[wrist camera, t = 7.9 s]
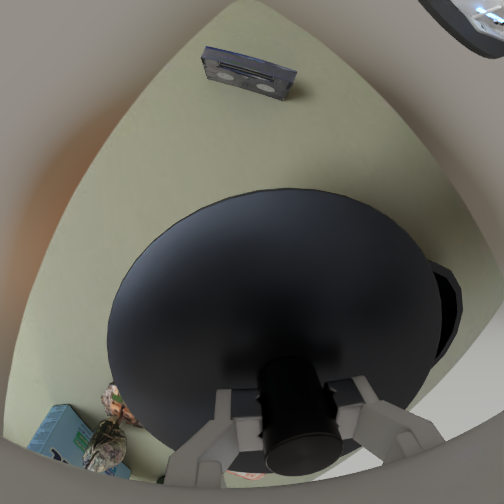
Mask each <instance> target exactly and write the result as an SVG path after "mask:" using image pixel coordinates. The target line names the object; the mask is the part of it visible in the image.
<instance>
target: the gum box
mask: <svg viewBox="0 0 504 504" xmlns="http://www.w3.org/2000/svg"><path fill="white" fill-rule="evenodd" d="M92 434H93V433H92V431H91V430H90V429H89V428H88V427H87V426H86V425H85V424H84V422H83V421H82V420H81V419H80V418H79V417H78V415H77V414H76V413H75V412H74V410H73V409H72V408H71V407H70V405H69V404H68V405H58V406H53V407H52V408H51V410H50V411H49V413H48V414H47V416H46V418H45V419H44V421H43V422H42V424H41V425H40V427H39V429H38V430H37V432H36V433H35V435H34V437H33V438H32V440H31V441H30V443H29V445H28V447H27V449H29V450H32V451H34V452H37V453H39V454H42V455H44V456H47V457H50V458H52V459H55V460H58V461H61V462H64V463H67V464H70V465H73V466H77V467H80V468H83V469H84V466H83V465H82V464H83V461H82V456H83V455H84V453H85V450H86V446H87V444H88V441H89V439H90V438H91V437H92ZM89 442H90V441H89ZM100 473H102V474H107V475H111V476H115V477H120V478H125V479H129V477H130V473H131V470H130V469H129V468H127V467H126V466H125V465H124V464H123V463H122V462H120V463H119V464H117V465H116V466H114V467H111V468H110V469H108V470H106V471H102V472H100Z"/></svg>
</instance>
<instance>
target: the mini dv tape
mask: <svg viewBox="0 0 504 504" xmlns="http://www.w3.org/2000/svg"><path fill="white" fill-rule="evenodd" d="M201 60H202V63H203V66H204V69H205V72H206V76H207V79H209V80H213V81H217V82H221V83H225V84H229V85H233V86H236V87H240V88H243V89H247V90H250V91H253V92H257V93H260V94H263V95H266V96H269V97H272V98H275V99H278V100H281V101H283V100H284V99H285V97H286V95H287V93H288V92H289V90H290V88H291V87H292V85H293V83H294V80H295V77H296V74H297V71H294V70H291V69H288V68H285V67H282V66H279V65H276V64H273V63H270V62H267V61H263V60H260V59H257V58H253V57H250V56H246V55H242V54H238V53H234V52H230V51H226V50H222V49H217V48H213V47H208V46H206V47H205V49H204V52H203V54H202V56H201Z"/></svg>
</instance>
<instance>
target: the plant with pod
mask: <svg viewBox="0 0 504 504" xmlns="http://www.w3.org/2000/svg"><path fill="white" fill-rule="evenodd" d="M102 395H103V396H104V397H103V396H101V399H102V403H103V404H104V405H105V406H104V407H105V408H104V409H105V412H106V413H107V414H108V415H109V416H111V417H109V418H107V419H105V420H103V421H101V422H100V423H99V425H97V427H96V428H95V429H94V431H93V434H92V437H91V438H90V439H89V441H90V442H89V441H88V444H87V446H86V450H85V453H84V455H83V456H82V461H83V464H82V465H83V466H84V469H87V470H91V471H94V472H98V473H100V472H102V471H106V470H108V469H110V468H111V467H114V466H116V465H117V464H119V463H120V462H121V461H122V460H123V458H124V456H125V454H126V450H127V449H126V446H127V443H126V441H127V438H126V436H125V433H124V431H123V430H122V429H121V428H119V426H120V424H121V422H122V420H123V421H125V422H126V423H129V424H132V425H133V426H136V427H139V428H140V427H141V428H142V427H143V426H142V425H141V424H140V423H139V422H138V420H137V419H136V418H135V417H134V415H133V414H132V413H131V412H130V410H129V409H128V407H127V406H126V404H125V402H124V401H123V399H122V397H121V396H120V394H119V391H118V389H117V387H116V384H115V382H113V383H109V386H108V389H106V391H105V393H104V394H102ZM108 415H107V416H108Z"/></svg>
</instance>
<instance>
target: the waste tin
mask: <svg viewBox="0 0 504 504" xmlns="http://www.w3.org/2000/svg"><path fill="white" fill-rule="evenodd" d="M426 259H427V258H426ZM427 261H428V262H429V264H430V266H431V269H432V271H433V274H434V276H435V279H436V282H437V285H438V290H439V295H440V300H441V314H442V322H441V333H440V340H439V344H438V348H437V353H436V356H435V359H434V361H433V364H432V367H433V366H434V365H435V364H436V363H437V362H438V361H439V360H440V359H441V358H442V357H443V356H444V355H445V353H446V352H447V350H448V348H449V347H450V345H451V343H452V341H453V340H454V338H455V336H456V334H457V331H458V328H459V324H460V320H461V316H462V312H463V304H462V292H461V287H460V285H459V284H458V282H457V280H456V278H455V277H454V275H453V273H452V272H451V271H450V270H449V269H447V268H445V267H443V266H441V265H439V264H437V263H435V262H433V261H431V260H429V259H427ZM432 367H431V368H432Z"/></svg>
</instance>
